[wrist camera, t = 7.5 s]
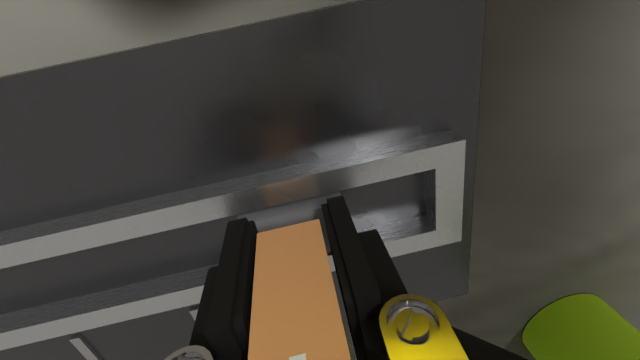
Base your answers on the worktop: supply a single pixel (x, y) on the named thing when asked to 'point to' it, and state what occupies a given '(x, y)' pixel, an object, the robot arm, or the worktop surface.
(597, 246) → the worktop surface
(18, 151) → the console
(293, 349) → the fader knob
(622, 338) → the soap dispenser
